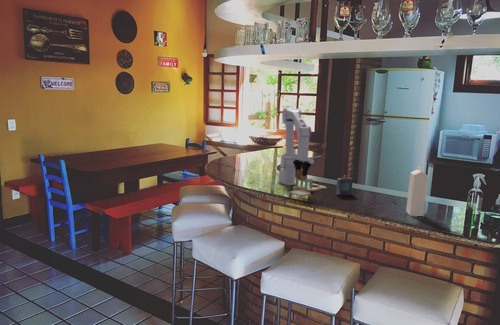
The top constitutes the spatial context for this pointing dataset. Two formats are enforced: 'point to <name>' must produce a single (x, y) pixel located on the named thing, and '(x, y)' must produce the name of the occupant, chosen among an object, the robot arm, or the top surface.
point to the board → (318, 187)
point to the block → (301, 175)
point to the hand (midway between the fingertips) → (301, 175)
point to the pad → (300, 192)
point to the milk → (417, 193)
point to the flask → (344, 186)
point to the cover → (305, 182)
